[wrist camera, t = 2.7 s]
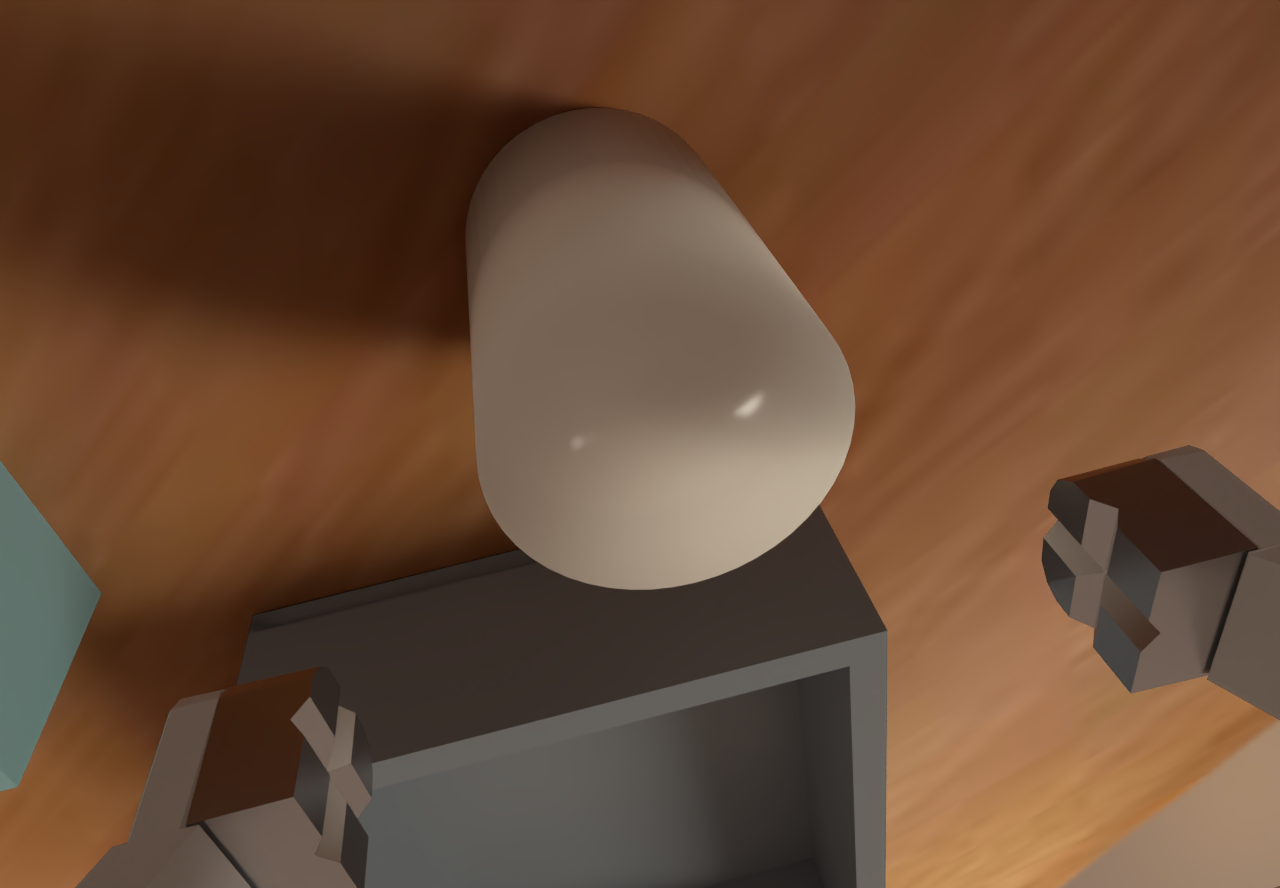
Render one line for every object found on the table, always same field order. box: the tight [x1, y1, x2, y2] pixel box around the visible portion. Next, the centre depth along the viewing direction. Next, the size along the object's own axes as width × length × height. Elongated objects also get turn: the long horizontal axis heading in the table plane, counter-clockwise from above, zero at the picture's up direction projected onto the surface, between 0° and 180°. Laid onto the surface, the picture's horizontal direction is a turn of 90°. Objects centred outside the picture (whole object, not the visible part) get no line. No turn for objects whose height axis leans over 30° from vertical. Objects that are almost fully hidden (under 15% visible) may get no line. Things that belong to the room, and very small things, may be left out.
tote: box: [236, 505, 887, 888], centre depth 25 cm, size 18×14×5 cm
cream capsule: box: [465, 108, 855, 590], centre depth 14 cm, size 5×5×7 cm
